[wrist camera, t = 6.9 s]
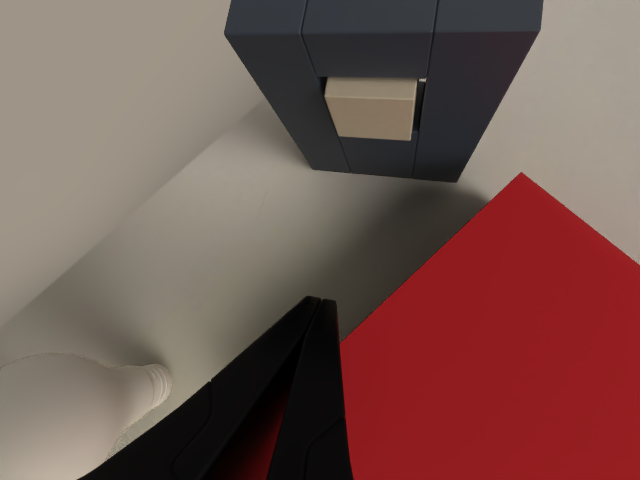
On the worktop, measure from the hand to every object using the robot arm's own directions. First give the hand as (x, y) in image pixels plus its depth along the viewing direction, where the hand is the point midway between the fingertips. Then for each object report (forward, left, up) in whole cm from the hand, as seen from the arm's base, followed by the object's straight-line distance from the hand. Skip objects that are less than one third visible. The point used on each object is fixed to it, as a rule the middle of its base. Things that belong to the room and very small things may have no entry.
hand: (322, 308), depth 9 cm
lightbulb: (+6, +13, -11) cm, 18 cm away
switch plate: (+5, -8, -11) cm, 14 cm away
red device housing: (-8, 0, -11) cm, 14 cm away
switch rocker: (+5, -7, -5) cm, 10 cm away
